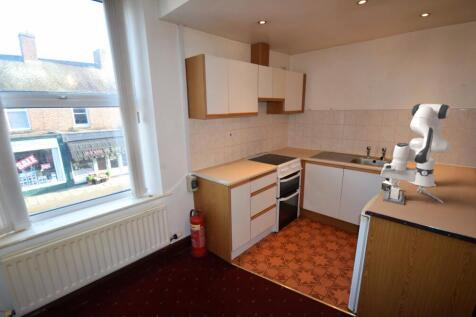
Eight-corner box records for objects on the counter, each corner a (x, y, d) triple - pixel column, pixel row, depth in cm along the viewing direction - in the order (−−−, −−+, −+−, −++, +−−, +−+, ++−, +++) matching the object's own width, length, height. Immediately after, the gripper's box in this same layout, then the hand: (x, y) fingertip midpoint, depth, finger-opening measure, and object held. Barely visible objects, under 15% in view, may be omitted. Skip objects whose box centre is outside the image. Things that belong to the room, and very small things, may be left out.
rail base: (384, 192, 173) (385, 191, 173) (403, 196, 166) (404, 194, 166) (382, 200, 159) (383, 198, 159) (403, 204, 152) (404, 202, 152)
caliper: (416, 192, 174) (418, 184, 173) (418, 192, 174) (419, 184, 173) (442, 203, 155) (444, 195, 153) (444, 203, 155) (445, 194, 153)
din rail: (387, 191, 172) (388, 189, 171) (401, 193, 167) (401, 191, 166) (386, 199, 158) (386, 196, 157) (401, 202, 153) (401, 199, 152)
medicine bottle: (380, 190, 179) (382, 175, 176) (387, 188, 181) (389, 174, 178) (389, 193, 172) (391, 178, 169) (395, 192, 175) (398, 177, 172)
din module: (390, 194, 167) (392, 184, 165) (397, 195, 164) (399, 185, 162) (389, 197, 160) (391, 187, 159) (397, 199, 158) (399, 189, 156)
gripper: (417, 167, 154) (414, 186, 157) (382, 163, 165) (379, 181, 169) (417, 169, 149) (414, 189, 152) (381, 165, 161) (379, 183, 164)
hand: (395, 185), depth 161 cm, fingers closed
